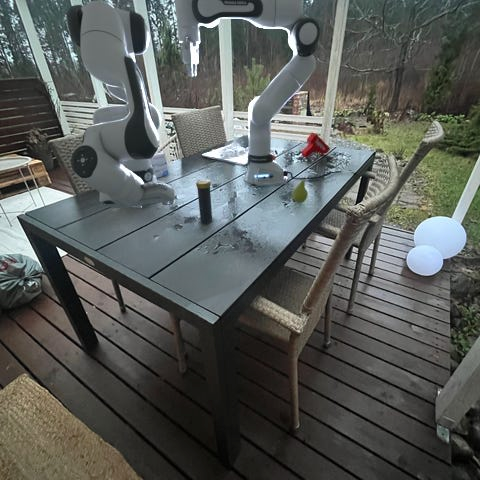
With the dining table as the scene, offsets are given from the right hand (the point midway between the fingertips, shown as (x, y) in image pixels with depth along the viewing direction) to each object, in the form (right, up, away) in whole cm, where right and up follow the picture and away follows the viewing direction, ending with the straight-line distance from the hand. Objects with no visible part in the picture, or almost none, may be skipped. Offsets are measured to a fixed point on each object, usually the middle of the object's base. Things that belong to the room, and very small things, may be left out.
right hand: (192, 76), depth 120 cm
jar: (+8, -65, -12) cm, 67 cm away
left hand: (-7, -61, -32) cm, 70 cm away
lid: (+8, -52, -21) cm, 56 cm away
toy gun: (+71, -16, +62) cm, 96 cm away
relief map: (+17, -15, +65) cm, 69 cm away
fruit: (+48, -56, +2) cm, 73 cm away
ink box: (-24, -37, +32) cm, 54 cm away
